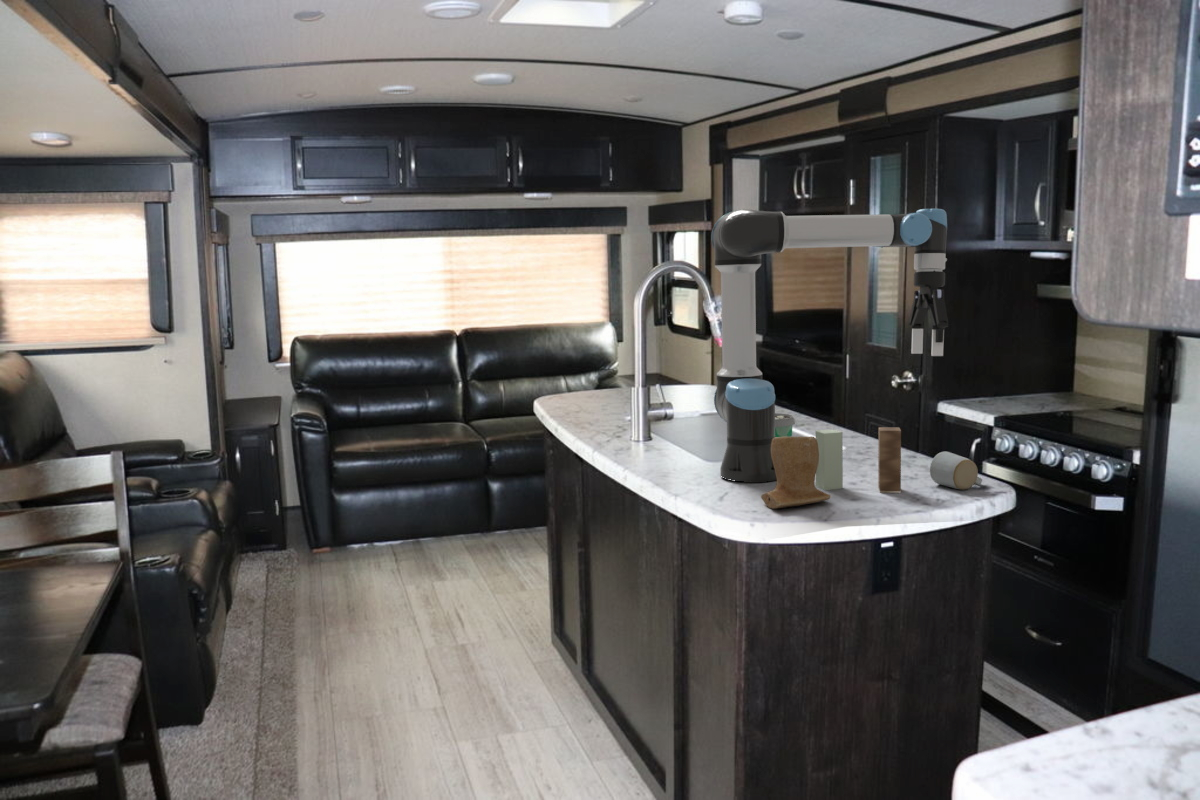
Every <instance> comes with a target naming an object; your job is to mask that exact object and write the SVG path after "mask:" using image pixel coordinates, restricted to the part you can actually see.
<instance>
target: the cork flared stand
mask: <svg viewBox="0 0 1200 800" xmlns="http://www.w3.org/2000/svg"><path fill="white" fill-rule="evenodd" d="M771 457H772V461H773V464H774V468H775V473H776V478H777V480H776V486H775V488H774V489H772V490H771V491H766V492H764V493H762V494H761V495H760V499H761V500H762V501H763V503H764V504H765V505H766V506H767V507H768V508H770V509H784V508H790V507H791V508H793V507H798V506H804V505H810V504H815V503H816V504H817V503H820V502H823V501H828V500H830V499H831V498H832V497H831V495H830V494H828V493H826V492H824V491H822V490H820V489H818V487H817V486H816V471H817V467H818V462H819V448H818V442H817V440H816V437H815V436H793V435H792V437H774V438H773V439H772V443H771Z"/></svg>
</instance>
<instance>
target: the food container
mask: <svg viewBox="0 0 1200 800" xmlns="http://www.w3.org/2000/svg"><path fill="white" fill-rule="evenodd" d="M795 421H796V420H795V418H794V415H793V414H790V413H780V412H778V413H777V412H775V437H792V436H793V425H795V423H796V422H795Z"/></svg>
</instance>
